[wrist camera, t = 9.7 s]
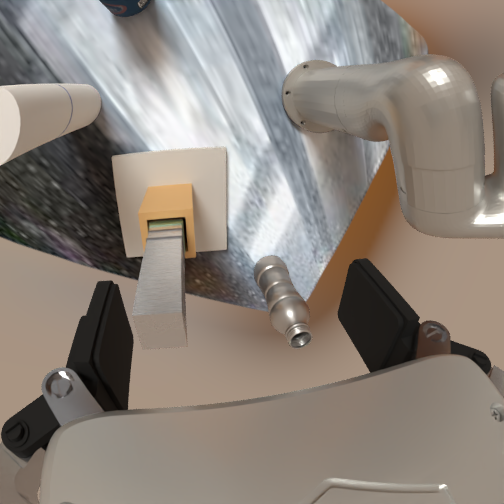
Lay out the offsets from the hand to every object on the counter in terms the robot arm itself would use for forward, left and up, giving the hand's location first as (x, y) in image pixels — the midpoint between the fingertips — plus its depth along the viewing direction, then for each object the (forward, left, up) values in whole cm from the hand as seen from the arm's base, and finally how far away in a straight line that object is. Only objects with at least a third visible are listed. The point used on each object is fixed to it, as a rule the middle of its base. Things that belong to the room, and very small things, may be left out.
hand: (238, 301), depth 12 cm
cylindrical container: (+19, -8, -38) cm, 44 cm away
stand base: (+5, +10, -38) cm, 40 cm away
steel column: (+5, +10, -31) cm, 33 cm away
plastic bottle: (-12, +24, -38) cm, 47 cm away
